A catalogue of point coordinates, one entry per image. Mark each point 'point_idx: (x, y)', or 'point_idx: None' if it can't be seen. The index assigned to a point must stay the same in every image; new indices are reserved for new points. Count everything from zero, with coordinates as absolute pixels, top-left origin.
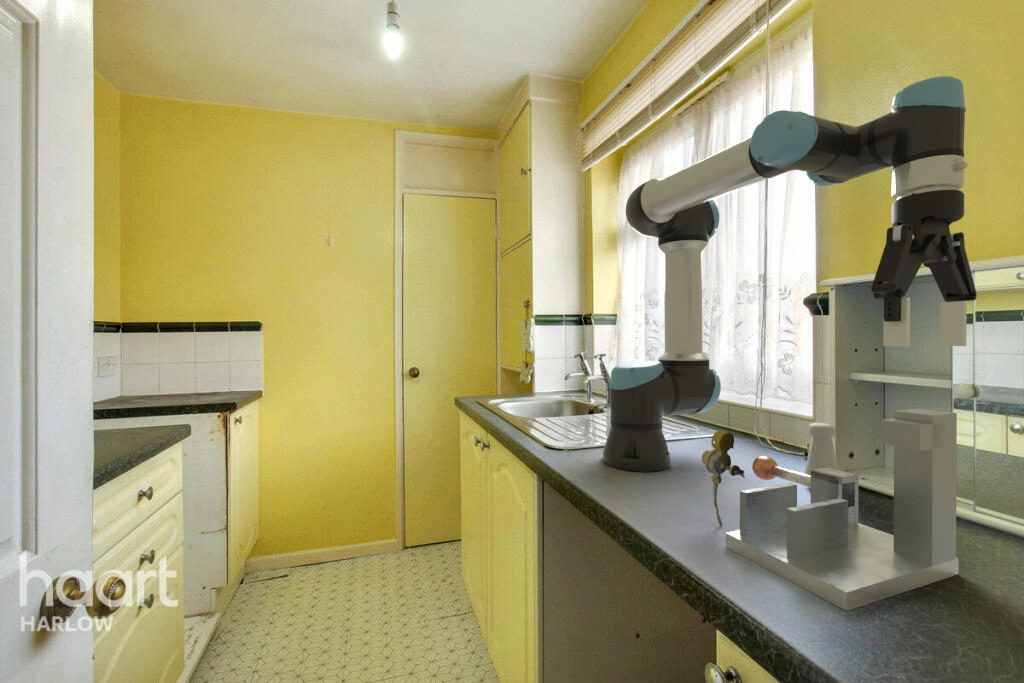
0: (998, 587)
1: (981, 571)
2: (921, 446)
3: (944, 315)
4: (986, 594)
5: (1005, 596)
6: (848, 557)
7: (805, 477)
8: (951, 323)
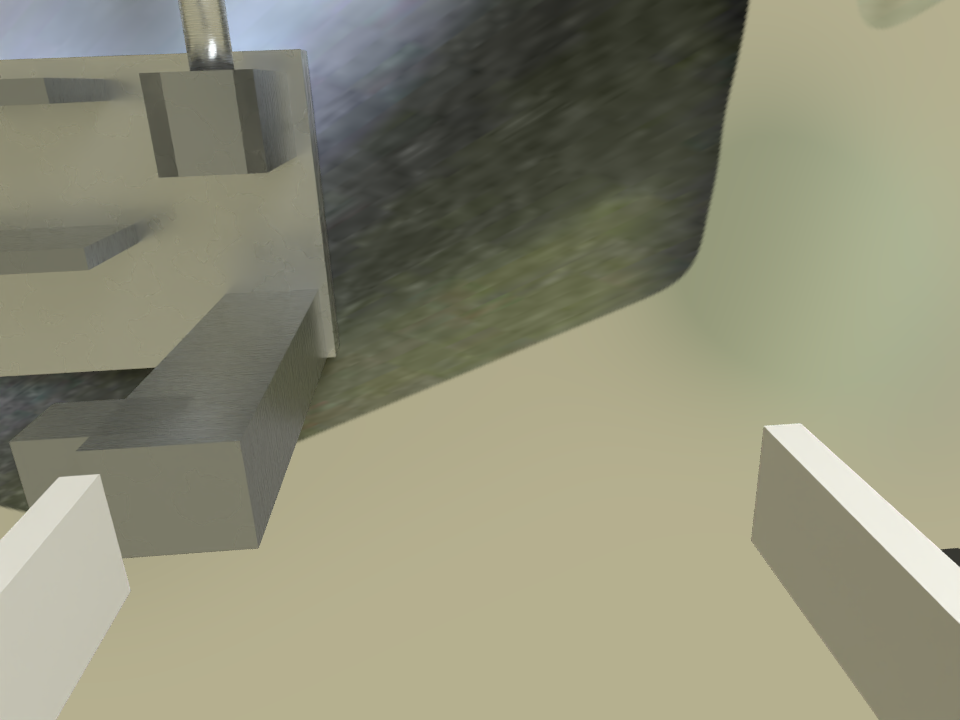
0: (356, 396)
1: (403, 350)
2: None
3: (899, 599)
4: None
5: (328, 417)
6: (86, 282)
7: (183, 22)
8: (841, 591)
